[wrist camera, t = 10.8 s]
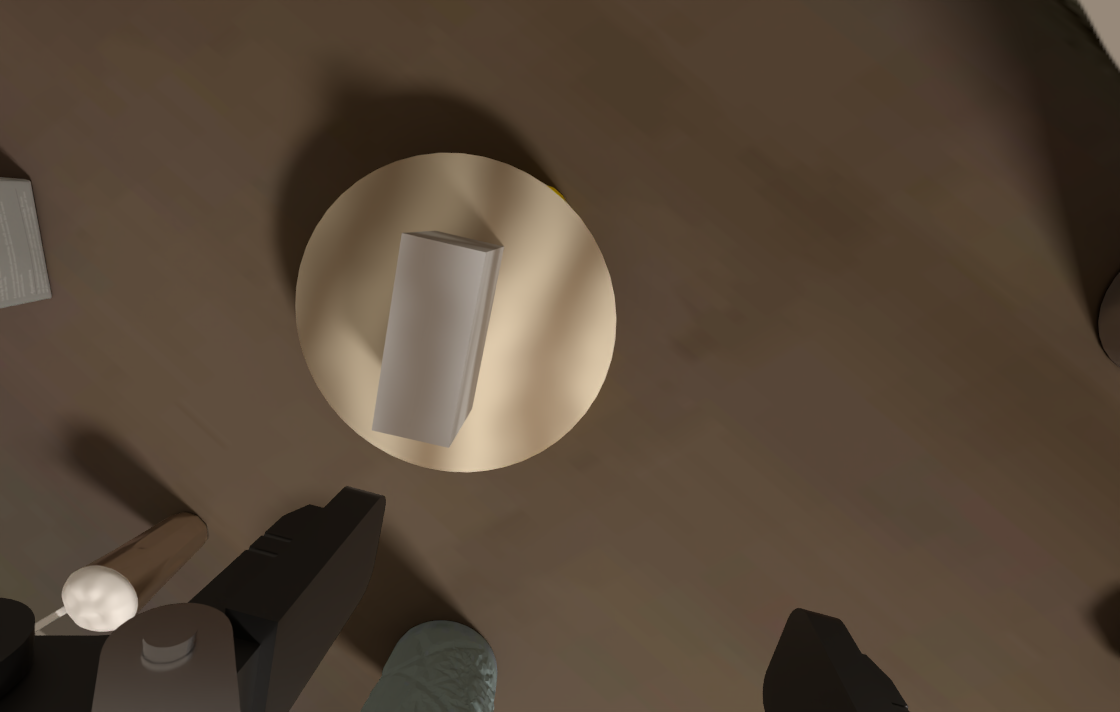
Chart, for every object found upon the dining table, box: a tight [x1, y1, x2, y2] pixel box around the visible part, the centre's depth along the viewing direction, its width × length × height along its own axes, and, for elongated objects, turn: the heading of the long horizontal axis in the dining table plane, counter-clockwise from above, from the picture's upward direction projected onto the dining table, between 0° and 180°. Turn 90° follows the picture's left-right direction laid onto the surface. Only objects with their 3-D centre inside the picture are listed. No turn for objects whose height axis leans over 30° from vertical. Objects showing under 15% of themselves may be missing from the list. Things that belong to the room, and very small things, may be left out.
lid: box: [295, 153, 616, 472], centre depth 31 cm, size 19×19×7 cm
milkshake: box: [35, 512, 208, 632], centre depth 38 cm, size 4×5×10 cm
